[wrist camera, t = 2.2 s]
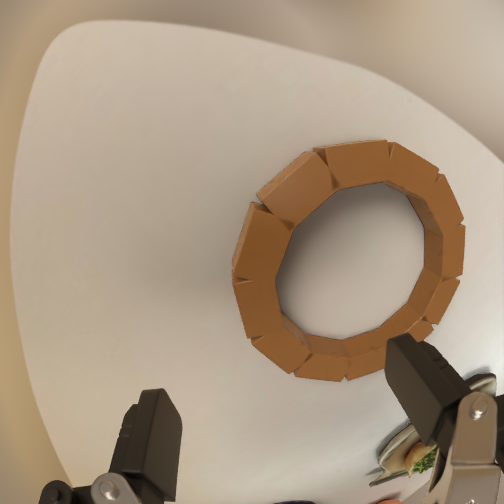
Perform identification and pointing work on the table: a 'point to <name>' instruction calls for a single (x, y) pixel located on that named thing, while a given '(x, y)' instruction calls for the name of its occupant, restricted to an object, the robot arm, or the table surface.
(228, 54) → the table surface
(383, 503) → the toy ball
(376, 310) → the table surface
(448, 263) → the ring
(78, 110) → the table surface
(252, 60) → the table surface
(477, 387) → the avocado toast plate
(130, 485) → the robot arm
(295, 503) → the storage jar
